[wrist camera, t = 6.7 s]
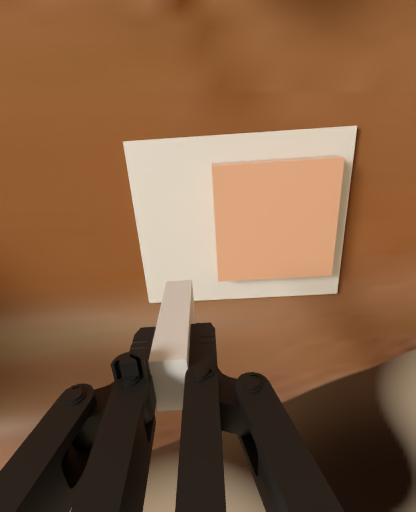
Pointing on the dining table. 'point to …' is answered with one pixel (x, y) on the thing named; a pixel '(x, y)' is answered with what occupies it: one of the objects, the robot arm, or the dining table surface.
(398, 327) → the dining table surface
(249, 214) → the tile
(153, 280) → the mat
